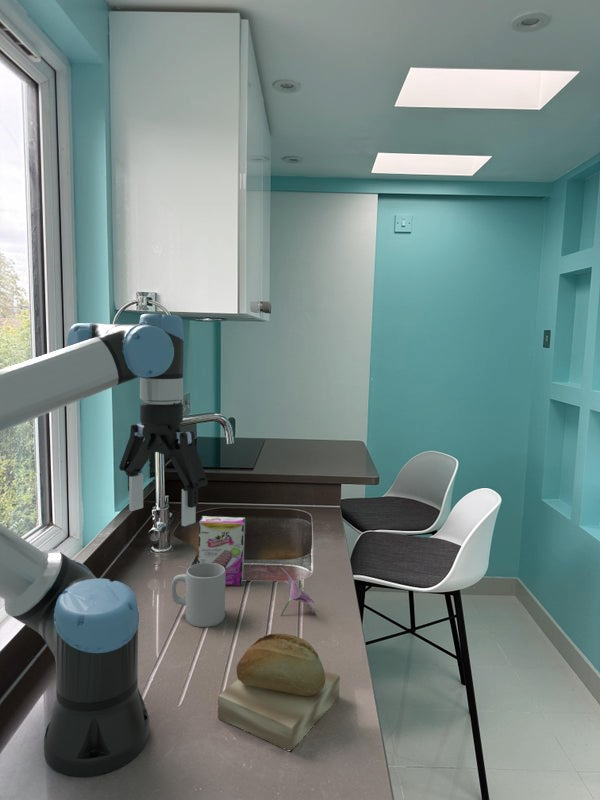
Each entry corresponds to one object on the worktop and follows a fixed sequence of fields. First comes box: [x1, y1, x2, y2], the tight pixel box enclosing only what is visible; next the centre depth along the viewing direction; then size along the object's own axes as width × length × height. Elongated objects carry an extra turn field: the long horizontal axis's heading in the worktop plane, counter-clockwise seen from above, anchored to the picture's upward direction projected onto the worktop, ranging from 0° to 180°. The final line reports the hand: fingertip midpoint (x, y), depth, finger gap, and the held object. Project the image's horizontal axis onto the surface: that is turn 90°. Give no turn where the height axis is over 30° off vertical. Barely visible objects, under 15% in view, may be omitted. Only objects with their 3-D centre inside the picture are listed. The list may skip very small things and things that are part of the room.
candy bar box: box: [197, 515, 246, 587], centre depth 145 cm, size 11×5×16 cm, turn 91°
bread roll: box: [236, 633, 325, 696], centre depth 97 cm, size 10×15×8 cm, turn 83°
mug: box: [170, 563, 226, 628], centre depth 127 cm, size 12×8×11 cm
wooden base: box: [217, 669, 341, 751], centre depth 98 cm, size 16×14×4 cm
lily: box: [280, 566, 317, 617], centre depth 131 cm, size 12×12×10 cm
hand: (161, 516), depth 106 cm, fingers open, 13 cm apart
